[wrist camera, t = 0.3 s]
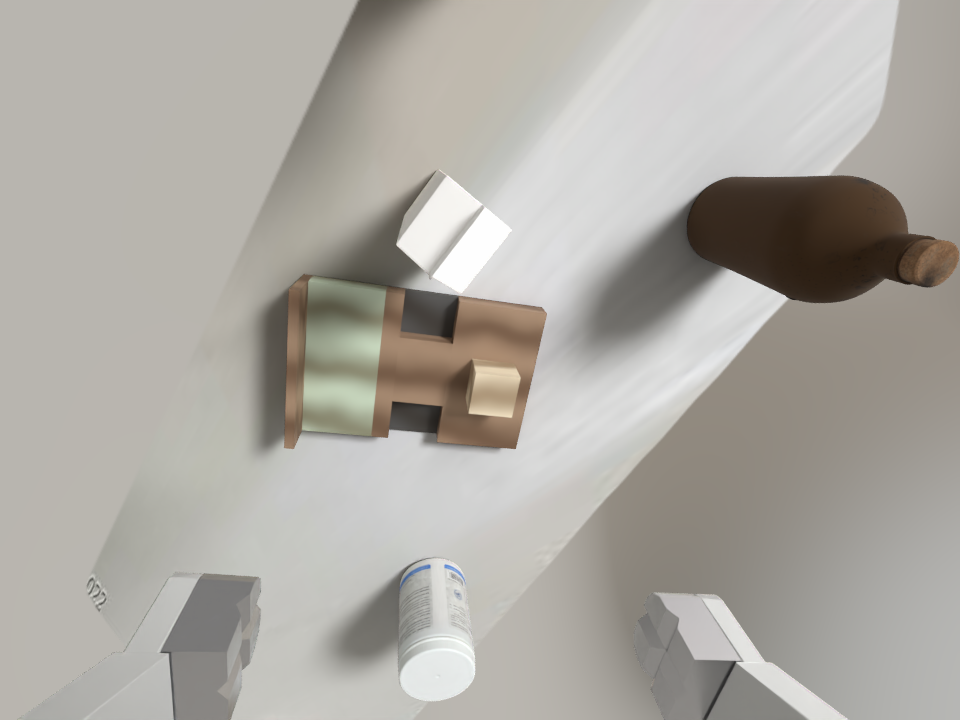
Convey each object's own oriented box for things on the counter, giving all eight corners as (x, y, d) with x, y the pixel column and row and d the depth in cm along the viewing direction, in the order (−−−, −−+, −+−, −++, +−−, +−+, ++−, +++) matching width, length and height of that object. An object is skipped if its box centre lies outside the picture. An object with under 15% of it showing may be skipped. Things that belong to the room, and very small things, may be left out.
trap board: (303, 274, 53) (288, 289, 47) (541, 307, 57) (555, 324, 51) (298, 418, 59) (284, 448, 53) (512, 438, 64) (521, 467, 58)
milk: (404, 215, 52) (389, 252, 31) (438, 167, 50) (447, 174, 30) (449, 250, 54) (463, 307, 33) (484, 206, 52) (520, 237, 32)
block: (472, 358, 56) (475, 372, 52) (514, 363, 57) (520, 377, 53) (465, 397, 58) (468, 413, 54) (506, 401, 59) (511, 417, 55)
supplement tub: (400, 604, 73) (395, 706, 59) (400, 555, 69) (395, 652, 56) (464, 601, 74) (474, 700, 61) (467, 553, 71) (478, 647, 57)
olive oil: (669, 199, 54) (851, 230, 31) (758, 152, 53) (1013, 150, 30) (695, 282, 58) (872, 363, 35) (778, 240, 57) (1015, 296, 34)
